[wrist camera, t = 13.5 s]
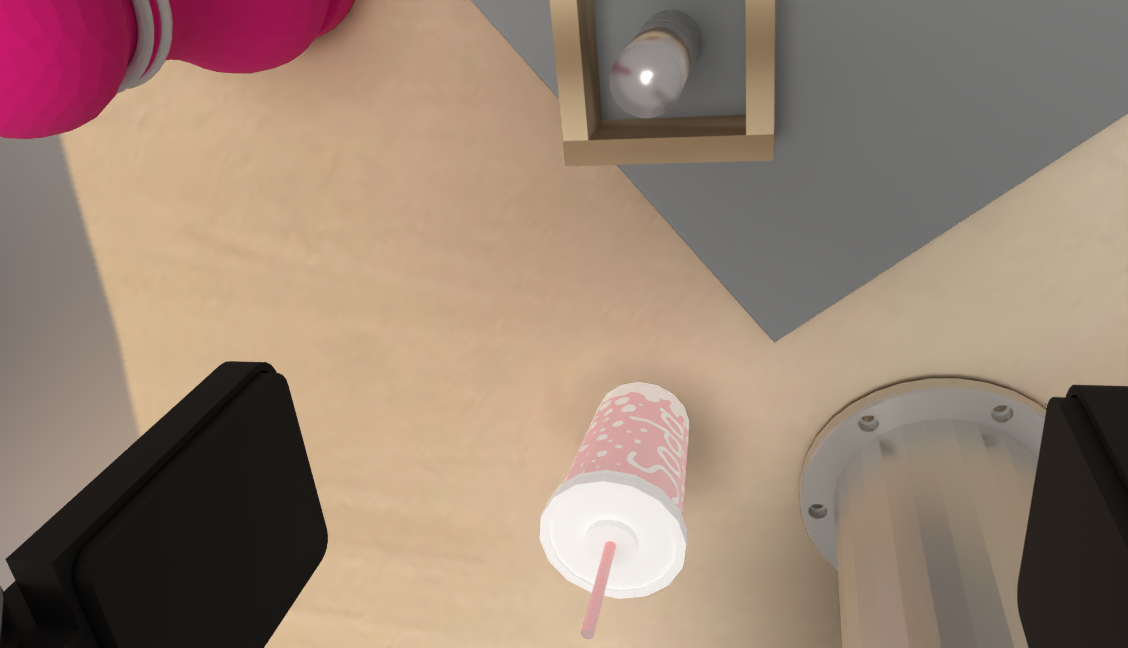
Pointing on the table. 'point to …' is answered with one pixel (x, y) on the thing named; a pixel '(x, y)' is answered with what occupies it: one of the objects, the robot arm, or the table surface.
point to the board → (857, 126)
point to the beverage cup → (622, 500)
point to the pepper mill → (135, 49)
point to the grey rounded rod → (656, 64)
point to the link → (660, 136)
